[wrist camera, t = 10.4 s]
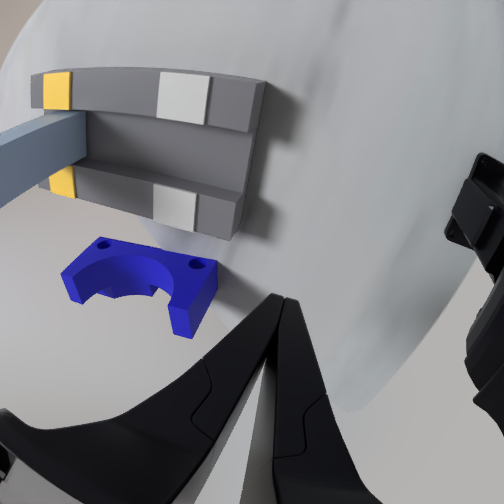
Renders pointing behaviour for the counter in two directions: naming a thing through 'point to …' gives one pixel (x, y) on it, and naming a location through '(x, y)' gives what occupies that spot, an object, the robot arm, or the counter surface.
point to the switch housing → (159, 142)
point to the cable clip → (145, 278)
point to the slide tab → (39, 150)
